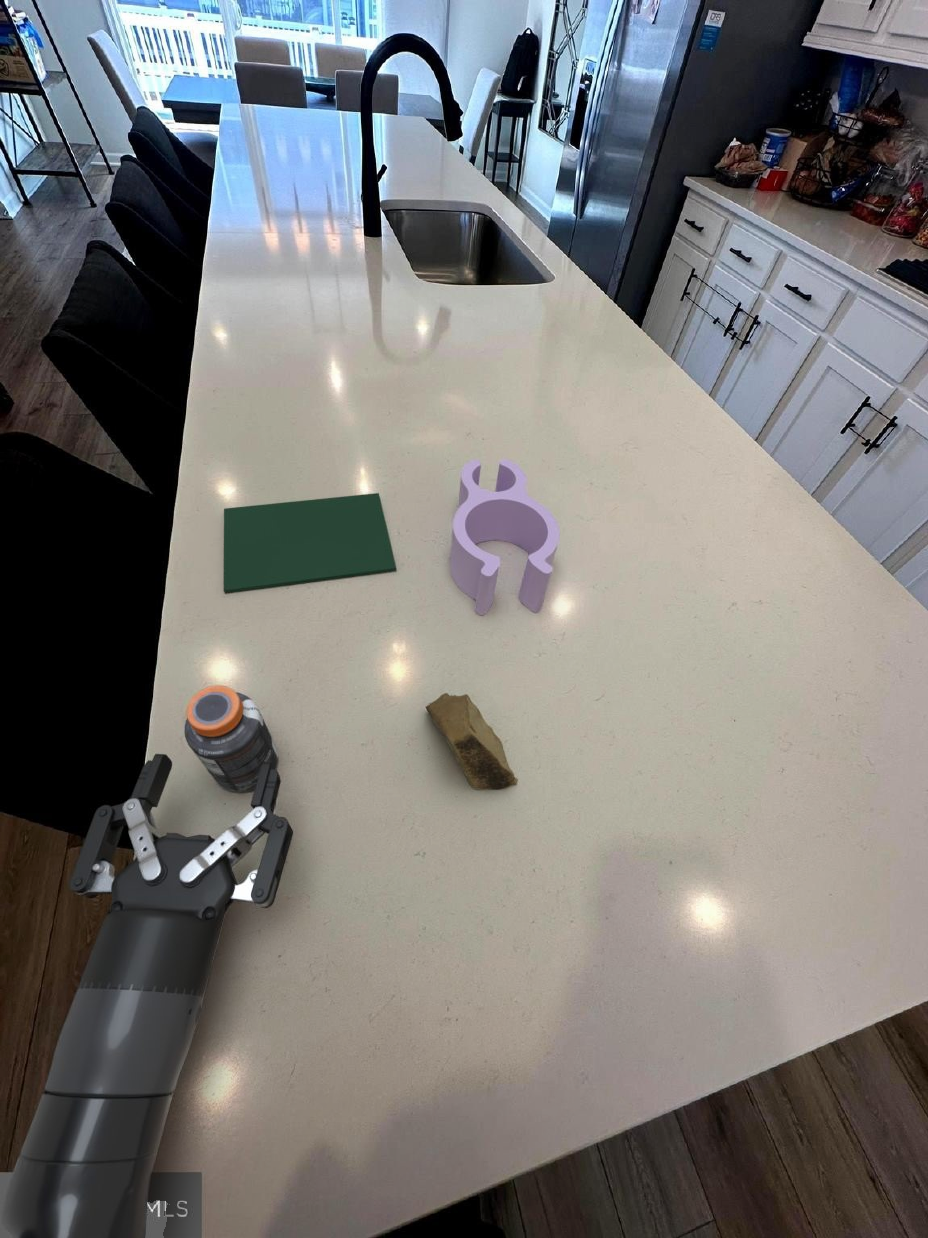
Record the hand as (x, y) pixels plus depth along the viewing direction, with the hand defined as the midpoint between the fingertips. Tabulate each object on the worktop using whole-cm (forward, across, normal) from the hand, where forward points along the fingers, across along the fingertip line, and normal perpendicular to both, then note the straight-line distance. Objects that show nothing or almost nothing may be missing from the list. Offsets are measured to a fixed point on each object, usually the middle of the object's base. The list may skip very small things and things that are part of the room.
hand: (217, 761), depth 46 cm
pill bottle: (+3, 0, +7) cm, 7 cm away
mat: (+32, 0, +7) cm, 33 cm away
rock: (+6, -21, +7) cm, 23 cm away
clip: (+33, -24, +7) cm, 41 cm away
